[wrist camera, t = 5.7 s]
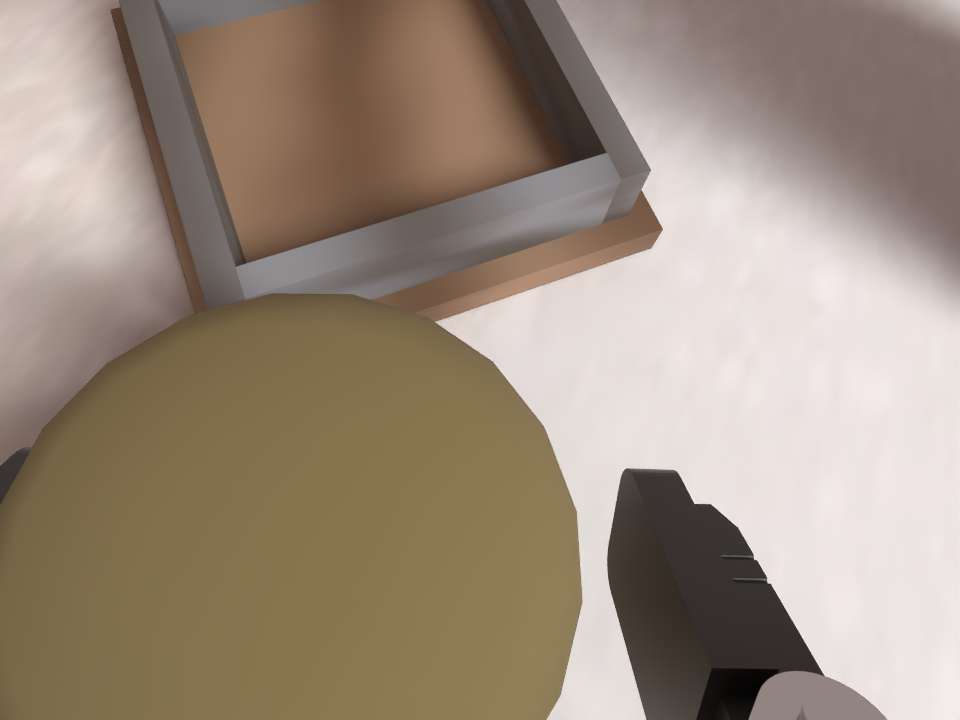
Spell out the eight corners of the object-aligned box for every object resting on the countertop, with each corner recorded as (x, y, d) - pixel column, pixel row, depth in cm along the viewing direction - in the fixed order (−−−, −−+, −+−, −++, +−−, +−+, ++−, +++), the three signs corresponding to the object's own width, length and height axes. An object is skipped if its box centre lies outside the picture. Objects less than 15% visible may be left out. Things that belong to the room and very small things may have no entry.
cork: (244, 470, 16) (-146, 230, 5) (491, 431, 16) (580, 149, 6) (260, 753, 14) (-311, 1269, 3) (539, 696, 14) (800, 971, 4)
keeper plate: (491, -50, 22) (499, -145, 19) (651, 247, 18) (690, 185, 15) (126, 37, 20) (73, -56, 17) (226, 392, 16) (182, 350, 13)
